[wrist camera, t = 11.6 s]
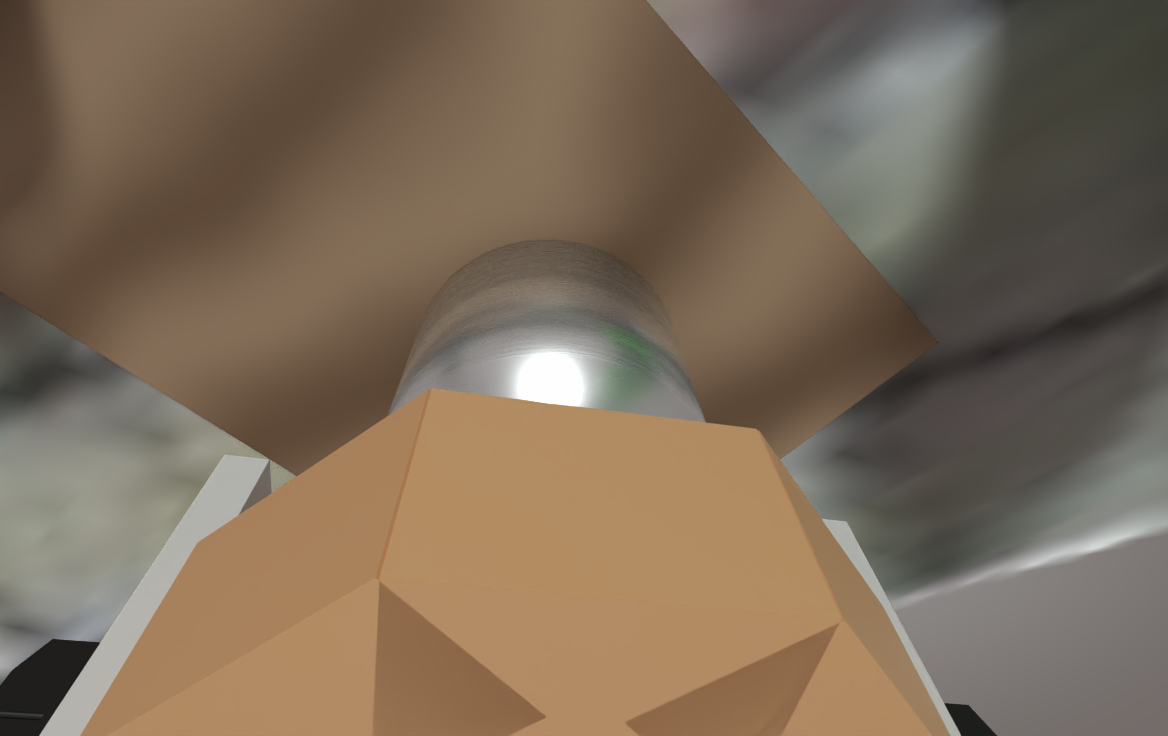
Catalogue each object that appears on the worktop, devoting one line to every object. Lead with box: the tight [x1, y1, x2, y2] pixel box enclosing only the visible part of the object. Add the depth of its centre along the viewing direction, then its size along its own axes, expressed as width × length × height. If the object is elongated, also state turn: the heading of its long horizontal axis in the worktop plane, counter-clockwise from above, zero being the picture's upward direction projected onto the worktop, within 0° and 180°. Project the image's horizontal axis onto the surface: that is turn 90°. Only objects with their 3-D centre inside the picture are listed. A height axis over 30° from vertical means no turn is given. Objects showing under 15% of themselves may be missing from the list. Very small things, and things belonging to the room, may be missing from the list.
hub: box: [388, 239, 706, 422], centre depth 15 cm, size 7×7×12 cm
